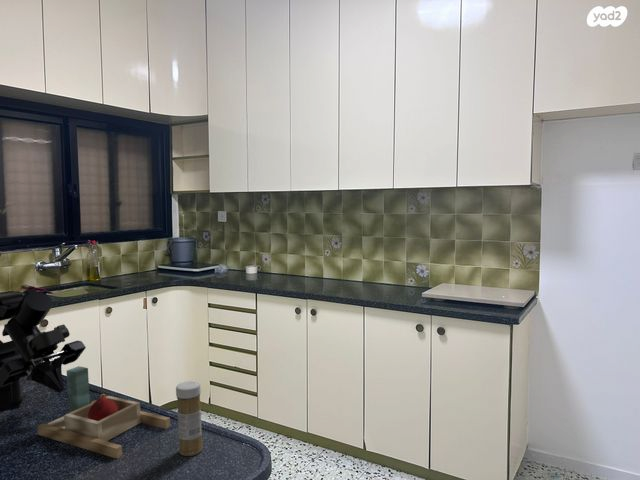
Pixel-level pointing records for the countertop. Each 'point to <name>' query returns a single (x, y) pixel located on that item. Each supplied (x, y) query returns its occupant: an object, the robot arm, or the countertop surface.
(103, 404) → the onion
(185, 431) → the sprinkles bottle
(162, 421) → the guide rails
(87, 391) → the wooden open tray
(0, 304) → the robot arm
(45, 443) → the countertop surface
